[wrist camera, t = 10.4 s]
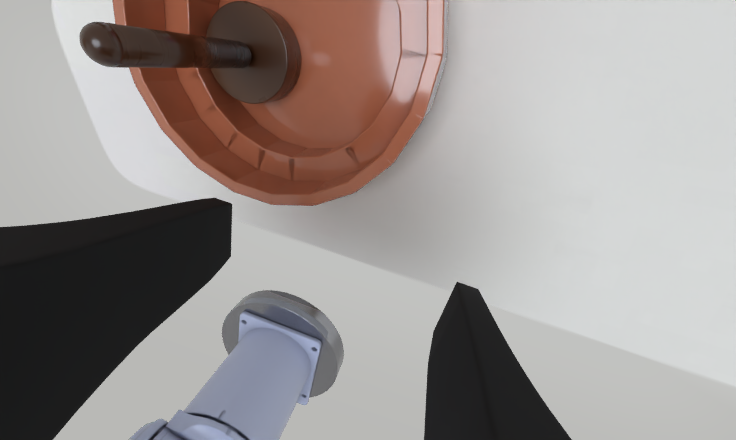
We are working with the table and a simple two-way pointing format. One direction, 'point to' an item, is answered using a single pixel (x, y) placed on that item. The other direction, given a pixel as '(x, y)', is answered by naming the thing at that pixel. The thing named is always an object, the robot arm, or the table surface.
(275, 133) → the bowl
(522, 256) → the table surface
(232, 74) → the disc with handle
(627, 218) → the table surface
